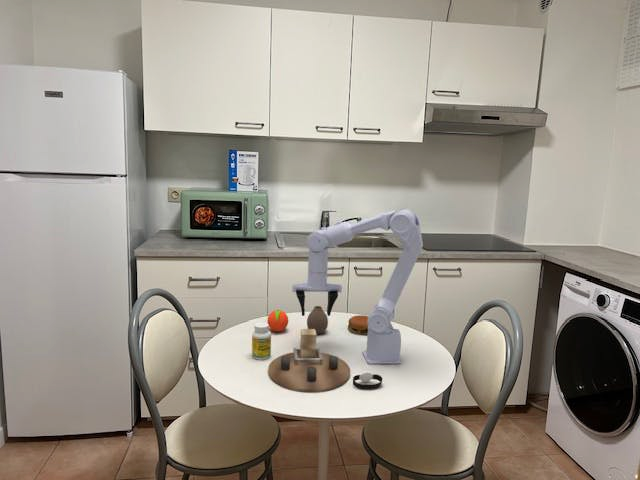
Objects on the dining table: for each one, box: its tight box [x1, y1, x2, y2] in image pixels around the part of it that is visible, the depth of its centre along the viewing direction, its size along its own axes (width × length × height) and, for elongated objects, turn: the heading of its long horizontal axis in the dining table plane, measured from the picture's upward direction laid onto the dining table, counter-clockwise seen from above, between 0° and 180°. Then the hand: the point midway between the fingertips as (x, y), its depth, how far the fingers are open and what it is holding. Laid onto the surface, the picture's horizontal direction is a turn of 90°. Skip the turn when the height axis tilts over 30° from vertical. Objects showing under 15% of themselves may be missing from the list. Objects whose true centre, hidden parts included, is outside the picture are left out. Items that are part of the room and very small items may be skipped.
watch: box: [352, 370, 383, 390], centre depth 119 cm, size 8×5×4 cm, turn 100°
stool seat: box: [267, 347, 351, 393], centre depth 126 cm, size 22×22×4 cm
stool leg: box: [299, 328, 317, 358], centre depth 131 cm, size 4×4×8 cm
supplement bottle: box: [251, 321, 272, 361], centre depth 133 cm, size 5×5×10 cm
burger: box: [347, 314, 369, 335], centre depth 157 cm, size 10×9×5 cm
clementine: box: [266, 309, 289, 332], centre depth 153 cm, size 8×7×7 cm
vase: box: [306, 305, 329, 336], centre depth 153 cm, size 7×7×9 cm
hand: (315, 314), depth 140 cm, fingers open, 7 cm apart
